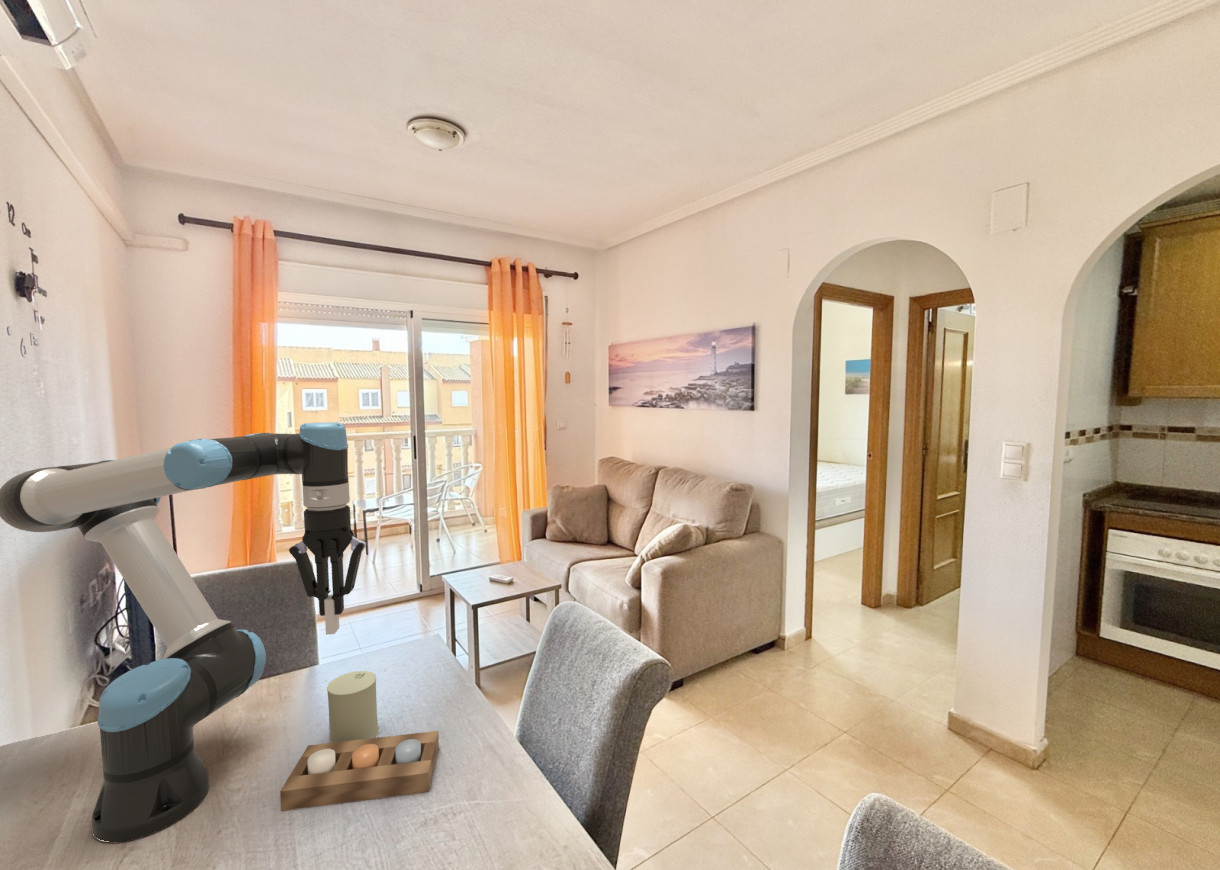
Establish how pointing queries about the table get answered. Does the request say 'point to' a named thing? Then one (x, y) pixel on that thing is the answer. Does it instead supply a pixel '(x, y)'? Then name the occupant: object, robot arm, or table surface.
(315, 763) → the white egg
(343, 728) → the can
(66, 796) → the table surface
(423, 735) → the wooden egg holder
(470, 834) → the table surface
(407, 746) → the blue-grey egg
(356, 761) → the orange egg
